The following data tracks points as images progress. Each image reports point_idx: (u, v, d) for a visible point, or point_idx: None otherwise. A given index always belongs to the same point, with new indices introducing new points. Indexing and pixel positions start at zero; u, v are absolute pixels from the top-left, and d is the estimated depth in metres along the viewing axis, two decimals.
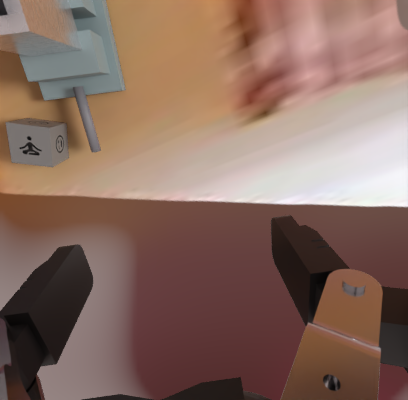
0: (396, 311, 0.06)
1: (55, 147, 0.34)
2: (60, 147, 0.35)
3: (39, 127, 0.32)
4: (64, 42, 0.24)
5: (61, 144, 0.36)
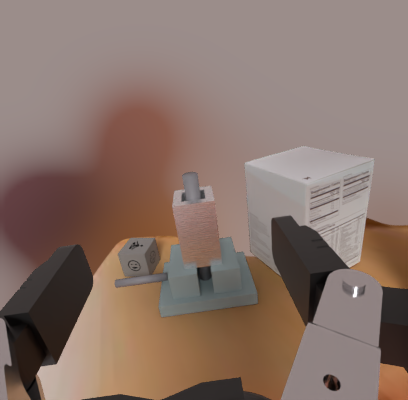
0: (396, 311, 0.06)
1: (131, 259, 0.45)
2: (132, 266, 0.45)
3: (146, 250, 0.45)
4: (180, 244, 0.35)
5: (134, 268, 0.46)
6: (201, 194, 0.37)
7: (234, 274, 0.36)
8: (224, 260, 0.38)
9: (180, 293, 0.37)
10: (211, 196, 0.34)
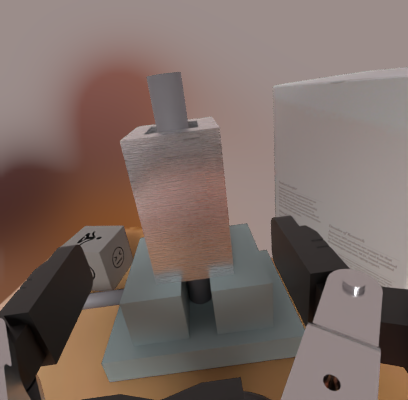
0: (396, 311, 0.06)
1: None
2: None
3: (104, 245, 0.26)
4: (145, 232, 0.16)
5: None
6: None
7: (259, 296, 0.17)
8: (237, 266, 0.19)
9: (148, 334, 0.18)
10: (212, 124, 0.15)
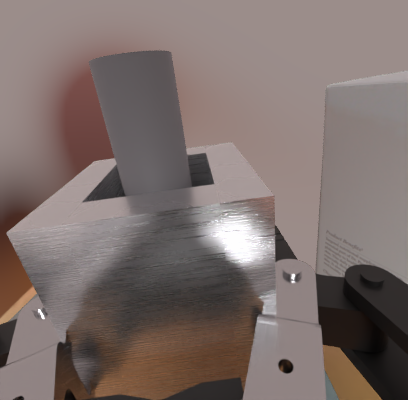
0: (328, 296, 0.07)
1: None
2: None
3: None
4: None
5: None
6: (197, 175, 0.09)
7: None
8: None
9: None
10: (245, 174, 0.07)
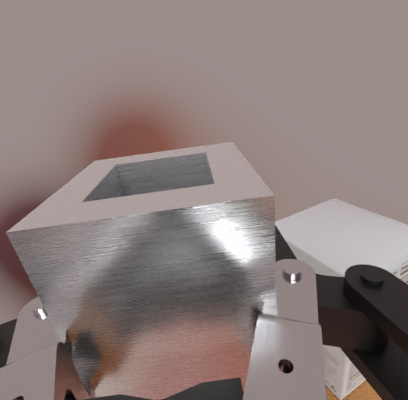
0: (328, 296, 0.07)
1: None
2: None
3: None
4: None
5: None
6: (197, 175, 0.09)
7: None
8: None
9: None
10: (246, 174, 0.07)
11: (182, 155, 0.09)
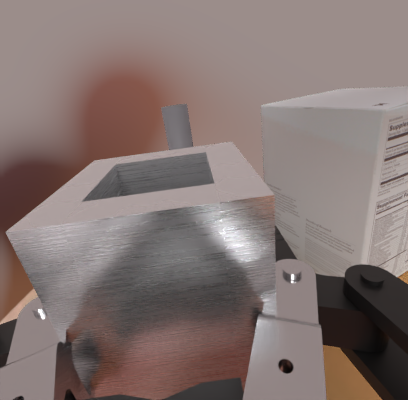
0: (328, 296, 0.07)
1: None
2: None
3: None
4: None
5: None
6: (197, 174, 0.09)
7: None
8: None
9: None
10: (246, 173, 0.07)
11: (182, 155, 0.09)
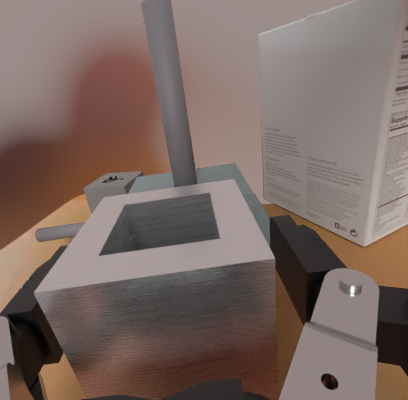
0: (393, 310, 0.06)
1: None
2: None
3: (128, 182, 0.29)
4: None
5: None
6: (201, 213, 0.10)
7: None
8: None
9: None
10: (248, 227, 0.07)
11: (187, 195, 0.10)
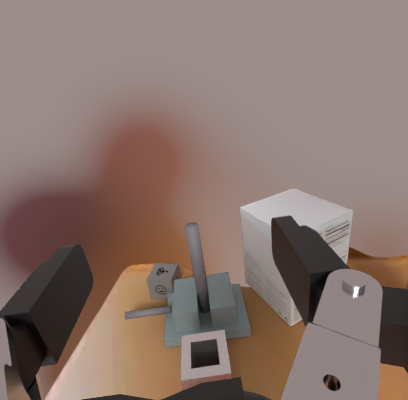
0: (396, 311, 0.06)
1: (158, 284, 0.51)
2: (159, 290, 0.51)
3: (172, 276, 0.51)
4: None
5: (161, 292, 0.52)
6: (214, 343, 0.32)
7: (230, 311, 0.41)
8: (221, 297, 0.43)
9: (183, 327, 0.42)
10: (226, 360, 0.29)
11: (209, 339, 0.32)
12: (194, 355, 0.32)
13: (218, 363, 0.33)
